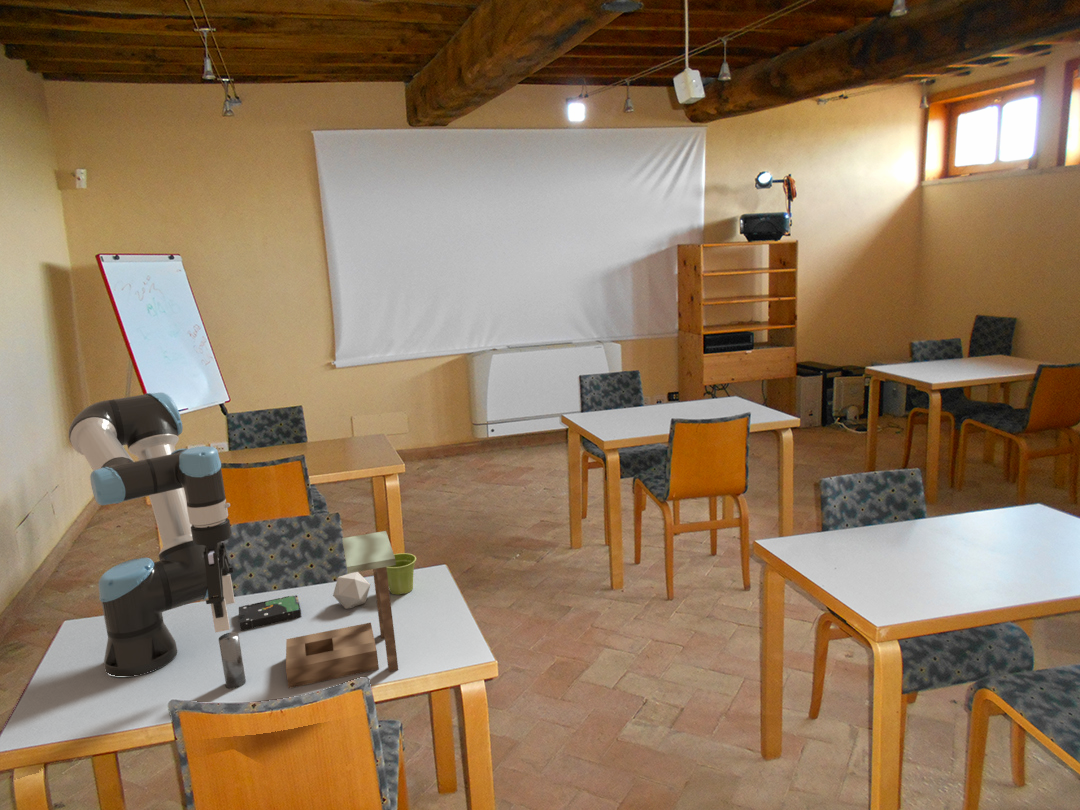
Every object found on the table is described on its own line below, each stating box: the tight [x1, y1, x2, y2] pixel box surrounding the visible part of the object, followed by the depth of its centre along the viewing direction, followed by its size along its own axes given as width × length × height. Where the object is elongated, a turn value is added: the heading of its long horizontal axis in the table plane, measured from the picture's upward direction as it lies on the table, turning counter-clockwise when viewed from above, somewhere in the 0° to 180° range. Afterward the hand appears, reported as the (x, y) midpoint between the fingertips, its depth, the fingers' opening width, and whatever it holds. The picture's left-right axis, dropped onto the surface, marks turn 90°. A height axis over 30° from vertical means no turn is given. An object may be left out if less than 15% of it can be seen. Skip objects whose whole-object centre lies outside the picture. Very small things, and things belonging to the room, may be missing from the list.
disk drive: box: [238, 594, 303, 632], centre depth 201 cm, size 10×3×15 cm
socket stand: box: [285, 530, 399, 689], centre depth 174 cm, size 25×18×26 cm
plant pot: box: [387, 552, 417, 596], centre depth 210 cm, size 9×9×9 cm
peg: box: [218, 631, 247, 690], centre depth 169 cm, size 4×4×11 cm
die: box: [332, 572, 371, 610], centre depth 204 cm, size 8×9×10 cm
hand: (225, 616), depth 166 cm, fingers open, 13 cm apart
